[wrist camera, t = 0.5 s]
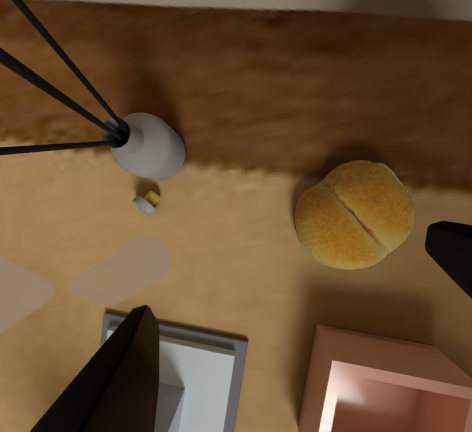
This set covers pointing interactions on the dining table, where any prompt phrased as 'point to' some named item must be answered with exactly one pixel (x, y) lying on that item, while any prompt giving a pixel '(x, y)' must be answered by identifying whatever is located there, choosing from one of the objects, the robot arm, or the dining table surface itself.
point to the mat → (206, 339)
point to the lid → (191, 386)
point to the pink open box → (382, 386)
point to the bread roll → (354, 215)
